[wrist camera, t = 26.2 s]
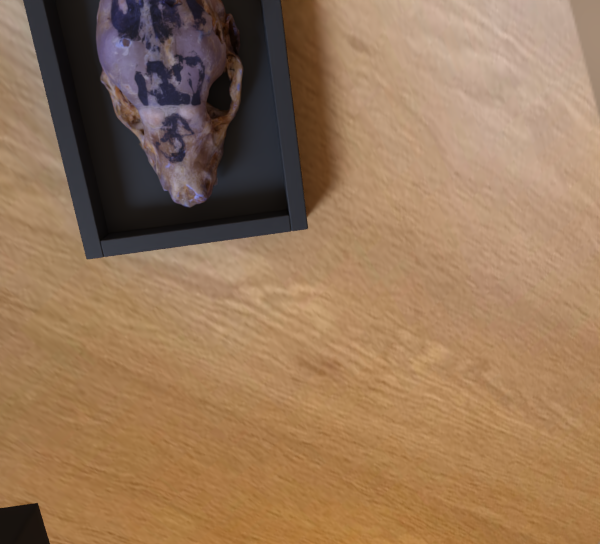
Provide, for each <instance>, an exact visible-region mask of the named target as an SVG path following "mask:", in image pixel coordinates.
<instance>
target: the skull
mask: <svg viewBox="0 0 600 544" xmlns="http://www.w3.org/2000/svg"><path fill="white" fill-rule="evenodd" d="M96 43H97V51H98V56H99V60H100V63H101V65H102V73H101V77H100V79H101V82H102V83H103V84H104V85H105V87H106V88H107V90H108V91H109V93H110V97H111V100H112V103H113V108H114V111H115V113H116V116H117V118H118V119H119V120H120V121H121V122H122V123H123V124H124V125H125V126H126V127H127V128H129V129H130V130H131V131H132V132H133V133H134V134H135V135H136V136H137V137H138V138H139V140H140V142H141V143H139V144H140V146H141V147H142V149H143V150H144V151H145V153H146V155H147V157H148V161H149V163H150V164H151V166H152V167H153V169H154V171H155V172H156V174H157V175H158V177H159V180H160V183H161V185H162V187H163V189H164V191H169V193H170V195H171V198H172V200H173V201H174V202H176V203H178V204H181V205H183V206H186V207H192V206H194V205H195V204H200V203H204V202H205V201H206V200H207V199H208V198H209V197H210V195H211V194H212V189H213V185H217V184H218V179H217V167H218V165H219V163H220V161H221V158H222V156H223V145H224V139H225V137H226V131H227V127H228V126H229V124H230V122H231V121H232V120H233V118H234V117H235V116H236V113H237V111H238V109H239V105H240V102H241V89H242V76H243V66H242V63H241V60H240V57H239V56H238V53H239V49H240V33H239V30H238V29H237V27H236V25H235V21H234V19H233V16H232V15H231V14H226V12H225V8H224V5H223V3H222V1H221V0H100V2H99V8H98V13H97V27H96ZM225 72H227V74H228V77H229V80H230V81H231V84H230V87H229V93H230V96H231V100H232V101H231V104H230V108H229V110H227V111H226V110H219V109H218V108H215V107H213V106H212V105H211V104H209V103H208V102H207V98H208V95H209V89H210V87H211V85H212V84H213V82H215V81H216V80H217V79H218V78H219V77H220V76H221V75H222V74H223V73H225Z"/></svg>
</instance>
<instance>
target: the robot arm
mask: <svg viewBox="0 0 600 544" xmlns="http://www.w3.org/2000/svg"><path fill="white" fill-rule="evenodd" d="M0 544H50V543H49V539H48V536H47V533H46V529H45V526H44V522H43V519H42V516H41V512H40V509H39V506H38V503H34V504H27V505H20V506H13V507H6V508H0Z"/></svg>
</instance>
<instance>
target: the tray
mask: <svg viewBox="0 0 600 544" xmlns="http://www.w3.org/2000/svg"><path fill="white" fill-rule="evenodd" d="M23 1H24V5H25V9H26V13H27V18H28V22H29V26H30V30H31V34H32V38H33V42H34V46H35V50H36V54H37V58H38V63H39V67H40V71H41V75H42V79H43V83H44V87H45V91H46V95H47V99H48V103H49V107H50V112H51V116H52V120H53V124H54V128H55V132H56V136H57V140H58V144H59V148H60V152H61V156H62V161H63V165H64V169H65V173H66V177H67V181H68V185H69V189H70V193H71V197H72V201H73V205H74V210H75V214H76V218H77V222H78V226H79V230H80V234H81V238H82V242H83V246H84V250H85V255H86V259H93V258H101V257H108V256H115V255H122V254H130V253H137V252H144V251H151V250H159V249H166V248H173V247H181V246H188V245H195V244H202V243H210V242H217V241H224V240H232V239H239V238H246V237H254V236H261V235H268V234H275V233H283V232H290V231H291V230H292V231H297V230H304V229H308V224H307V216H306V207H305V199H304V191H303V182H302V174H301V166H300V157H299V149H298V141H297V132H296V124H295V116H294V107H293V99H292V91H291V82H290V74H289V66H288V58H287V49H286V41H285V33H284V24H283V16H282V8H281V0H221V1H222V3H223V5H224V8H225V12H226V14H231V15H232V16H233V19H234V21H235V25H236V27H237V29H238V30H239V33H240V49H239V53H238V56H239V57H240V60H241V63H242V66H243V76H242V89H241V102H240V105H239V109H238V111H237V113H236V116H235V117H234V118H233V120H232V121H231V122H230V124H229V126H228V127H227V131H226V137H225V139H224V145H223V156H222V158H221V161H220V163H219V165H218V167H217V179H218V184H217V185H213V189H212V194H211V195H210V197H209V198H208V199H207V200H206V201H205V202H204V203H200V204H195V205H194V206H192V207H186V206H183V205H181V204H178V203H176V202H174V201H173V200H172V198H171V195H170V193H169V191H164V189H163V187H162V185H161V183H160V180H159V177H158V175H157V174H156V172H155V171H154V169H153V167H152V166H151V164H150V163H149V161H148V157H147V155H146V153H145V151H144V150H143V149H142V147H141V146H140V144H139V143H141V142H140V140H139V138H138V137H137V136H136V135H135V134H134V133H133V132H132V131H131V130H130V129H129V128H127V127H126V126H125V125H124V124H123V123H122V122H121V121H120V120H119V119H118V118H117V116H116V113H115V111H114V108H113V103H112V100H111V97H110V93H109V91H108V90H107V88H106V87H105V85H104V84H103V83H102V82H101V79H100V77H101V73H102V65H101V63H100V60H99V56H98V51H97V43H96V27H97V13H98V8H99V2H100V0H23ZM230 84H231V81H230V80H229V77H228V74H227V72H225V73H223V74H222V75H221V76H220V77H219V78H218V79H217V80H216V81H215V82H213V84H212V85H211V87H210V89H209V95H208V98H207V102H208V103H209V104H211V105H212V106H213V107H215V108H218V109H219V110H226V111H227V110H229V108H230V104H231V101H232V100H231V96H230V93H229V87H230Z"/></svg>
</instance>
